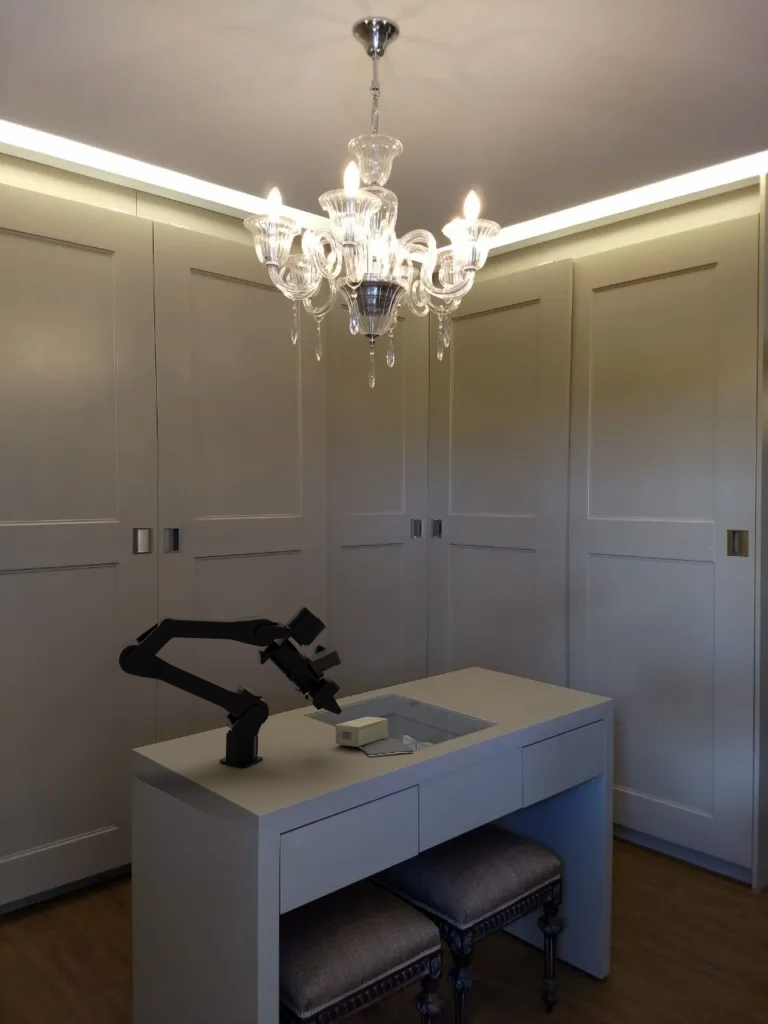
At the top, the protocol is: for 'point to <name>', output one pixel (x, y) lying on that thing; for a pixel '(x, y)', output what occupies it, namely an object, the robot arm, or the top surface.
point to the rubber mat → (385, 747)
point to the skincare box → (361, 731)
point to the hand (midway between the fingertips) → (339, 712)
